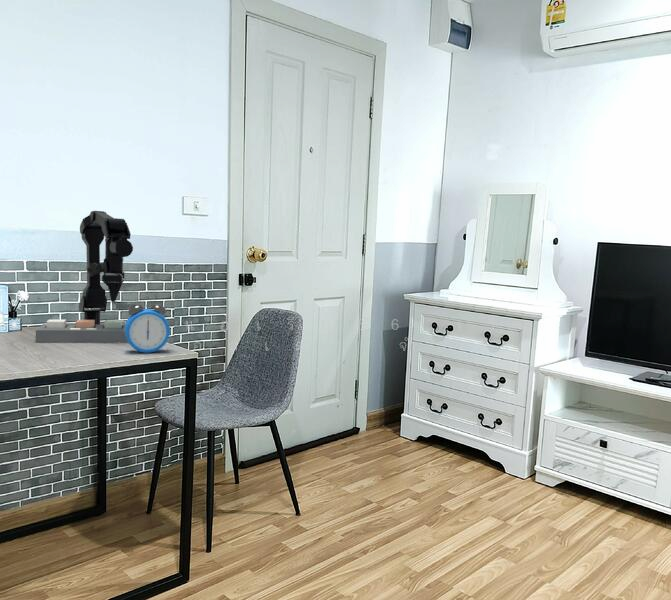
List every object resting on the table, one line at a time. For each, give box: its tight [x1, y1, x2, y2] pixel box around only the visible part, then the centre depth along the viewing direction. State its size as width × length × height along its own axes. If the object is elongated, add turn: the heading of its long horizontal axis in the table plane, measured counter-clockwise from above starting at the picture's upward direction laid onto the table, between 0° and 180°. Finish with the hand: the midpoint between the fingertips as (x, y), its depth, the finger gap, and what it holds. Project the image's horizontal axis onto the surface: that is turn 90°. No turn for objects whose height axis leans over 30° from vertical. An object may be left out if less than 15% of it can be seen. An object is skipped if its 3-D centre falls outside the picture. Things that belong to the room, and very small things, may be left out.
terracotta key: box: [75, 319, 95, 328], centre depth 210 cm, size 5×5×4 cm
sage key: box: [103, 319, 123, 328], centre depth 212 cm, size 5×5×4 cm
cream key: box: [45, 319, 67, 328], centre depth 207 cm, size 5×5×4 cm
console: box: [35, 323, 128, 344], centre depth 209 cm, size 13×28×4 cm, turn 106°
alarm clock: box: [124, 303, 171, 354], centre depth 192 cm, size 13×6×15 cm, turn 112°
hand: (113, 300), depth 211 cm, fingers open, 4 cm apart
